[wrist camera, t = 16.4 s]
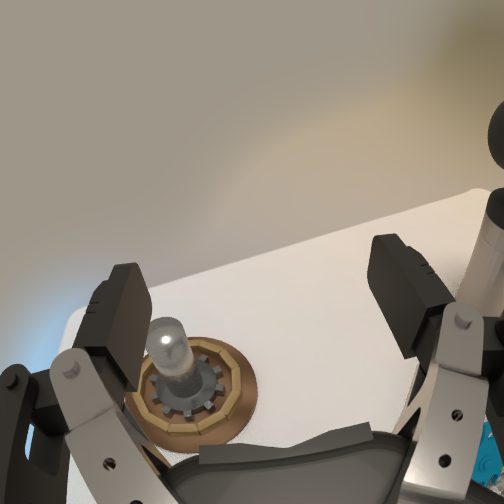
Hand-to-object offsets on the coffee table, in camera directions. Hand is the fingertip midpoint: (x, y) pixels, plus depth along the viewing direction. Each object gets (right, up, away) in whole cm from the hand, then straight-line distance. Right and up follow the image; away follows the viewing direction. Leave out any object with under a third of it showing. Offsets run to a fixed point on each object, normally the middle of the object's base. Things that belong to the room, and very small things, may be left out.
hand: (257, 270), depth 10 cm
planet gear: (-8, -16, +25) cm, 31 cm away
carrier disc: (-8, -17, +26) cm, 32 cm away
